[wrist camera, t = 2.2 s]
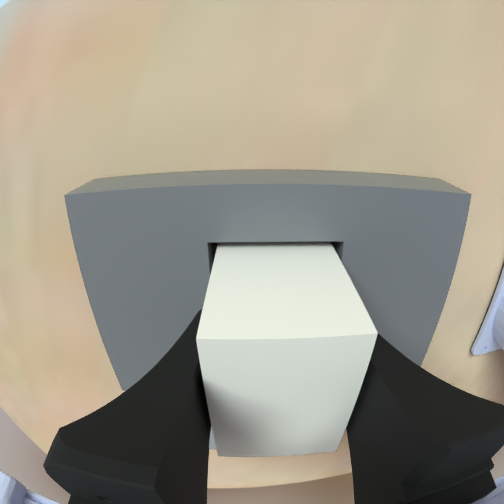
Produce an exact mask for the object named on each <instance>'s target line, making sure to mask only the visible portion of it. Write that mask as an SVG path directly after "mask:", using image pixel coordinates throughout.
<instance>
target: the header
mask: <svg viewBox="0 0 504 504" xmlns="http://www.w3.org/2000/svg"><path fill="white" fill-rule="evenodd" d="M64 196H65V202H66V207H67V213H68V218H69V223H70V228H71V233H72V237H73V242H74V246H75V250H76V254H77V259H78V262H79V266H80V270H81V274H82V278H83V281H84V285H85V288H86V292H87V295H88V298H89V302H90V305H91V308H92V311H93V314H94V317H95V320H96V323H97V326H98V329H99V332H100V335H101V338H102V340H103V343H104V346H105V348H106V351H107V354H108V356H109V359H110V361H111V364H112V366H113V369H114V371H115V374H116V376H117V379H118V381H119V383H120V386H121V388H122V390H125V391H126V390H128V389H129V388H130V387H131V386H133V385H134V384H135V383H136V382H138V381H139V380H140V379H141V378H142V377H143V376H144V375H146V374H147V373H148V372H149V371H150V370H151V369H152V368H153V367H154V366H155V365H156V364H157V363H158V362H159V361H160V360H161V358H162V357H163V356H164V355H165V354H166V353H167V352H168V351H169V350H170V348H171V347H172V346H173V345H174V344H175V342H176V341H177V340H178V339H179V337H180V336H181V335H182V334H183V332H184V331H185V330H186V328H187V327H188V325H189V324H190V323H191V321H192V320H193V318H194V317H195V315H196V314H197V312H198V311H199V310H201V309H203V305H204V301H205V296H206V292H207V288H208V283H209V279H210V275H211V271H212V267H213V262H214V258H215V254H216V250H217V242H312V241H330V242H331V244H332V246H333V248H334V249H335V251H336V253H337V255H338V257H339V259H340V260H341V262H342V264H343V266H344V268H345V270H346V272H347V273H348V275H349V277H350V279H351V281H352V283H353V285H354V287H355V289H356V291H357V292H358V294H359V296H360V298H361V300H362V302H363V304H364V306H365V308H366V310H367V312H368V314H369V316H370V318H371V320H372V322H373V324H374V326H375V328H376V330H377V332H378V333H379V334H380V335H381V336H382V337H383V338H384V339H385V340H386V341H388V342H389V343H390V344H391V345H392V346H393V347H395V348H396V349H397V350H398V351H400V352H401V353H402V354H403V355H404V356H406V357H407V358H408V359H410V360H411V361H412V362H414V363H415V364H417V365H418V366H421V364H422V361H423V359H424V357H425V354H426V352H427V349H428V347H429V345H430V342H431V339H432V337H433V334H434V332H435V329H436V326H437V324H438V321H439V318H440V315H441V312H442V310H443V307H444V304H445V301H446V297H447V294H448V291H449V288H450V285H451V281H452V278H453V274H454V271H455V267H456V264H457V260H458V256H459V252H460V248H461V244H462V239H463V235H464V231H465V226H466V221H467V216H468V211H469V205H470V199H471V194H470V193H468V192H466V191H464V190H462V189H460V188H458V187H455V186H453V185H451V184H449V183H447V182H445V181H443V180H441V179H436V178H426V177H416V176H405V175H394V174H380V173H365V172H346V171H321V170H218V171H193V172H174V173H158V174H145V175H132V176H121V177H111V178H101V179H94V180H92V181H90V182H88V183H86V184H84V185H82V186H80V187H79V188H77V189H75V190H73V191H71V192H69V193H67V194H66V195H64Z"/></svg>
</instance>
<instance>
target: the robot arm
mask: <svg viewBox="0 0 504 504" xmlns="http://www.w3.org/2000/svg"><path fill="white" fill-rule="evenodd" d="M201 314H202V309H201V310H199V311H198V312H197V314H196V315H195V317H194V318H193V320H192V321H191V323H190V324H189V325H188V327H187V328H186V330H185V331H184V332H183V334H182V335H181V336H180V337H179V339H178V340H177V341H176V342H175V344H174V345H173V346H172V347H171V348H170V350H169V351H168V352H167V353H166V354H165V355H164V356H163V357H162V358H161V360H160V361H159V362H158V363H157V364H156V365H155V366H154V367H153V368H152V369H151V370H150V371H149V372H148V373H147V374H146V375H144V376H143V377H142V378H141V379H140V380H139V381H138V382H136V383H135V384H134V385H133V386H131V387H130V388H129V389H128V390H126V391H125V392H124V393H122V394H121V395H120V396H118V397H117V398H116V399H114V400H113V401H111V402H109V403H108V404H106V405H105V406H103V407H101V408H100V409H98V410H96V411H94V412H93V413H91V414H89V415H87V416H85V417H83V418H81V419H79V420H77V421H75V422H72V423H70V424H68V425H66V426H64V427H61V428H60V429H59V430H58V432H57V434H56V436H55V438H54V440H53V442H52V445H51V447H50V450H49V452H48V455H47V457H46V460H45V463H44V465H43V466H44V468H45V470H46V472H47V474H48V475H49V476H50V477H51V478H52V479H53V480H54V481H55V482H57V483H58V484H59V485H60V486H61V487H62V488H63V489H65V490H66V491H67V492H68V493H69V494H71V496H70V500H69V503H68V504H207V477H208V457H209V441H210V432H211V420H210V415H209V410H208V405H207V400H206V395H205V389H204V384H203V378H202V372H201V367H200V361H199V355H198V348H197V342H196V336H197V332H198V327H199V323H200V318H201ZM499 349H503V351H504V267H503V270H502V273H501V276H500V279H499V282H498V285H497V288H496V291H495V294H494V296H493V299H492V302H491V304H490V307H489V309H488V312H487V314H486V317H485V319H484V322H483V324H482V326H481V329H480V331H479V333H478V336H477V338H476V340H475V342H474V344H473V346H472V349H471V352H472V354H473V355H474V356H476V355H480V354H484V353H488V352H492V351H496V350H499ZM346 430H347V435H348V442H349V448H350V456H351V464H352V473H353V485H354V499H355V504H504V475H502V476H500V477H499V478H497V479H495V480H493V478H492V475H491V472H490V470H491V469H492V468H493V467H494V464H493V462H492V460H491V458H492V457H493V456H494V455H495V454H496V452H498V451H499V449H500V448H501V447H502V446H503V445H504V406H503V405H502V404H498V403H495V402H492V401H489V400H486V399H483V398H480V397H477V396H474V395H472V394H470V393H467V392H465V391H463V390H460V389H458V388H456V387H454V386H452V385H450V384H448V383H446V382H444V381H443V380H441V379H439V378H437V377H435V376H434V375H432V374H430V373H429V372H427V371H426V370H424V369H423V368H421V367H420V366H418V365H417V364H415V363H414V362H412V361H411V360H410V359H408V358H407V357H406V356H404V355H403V354H402V353H401V352H400V351H398V350H397V349H396V348H395V347H393V346H392V345H391V344H390V343H389V342H388V341H386V340H385V339H384V338H383V337H382V336H381V335H380V334H379V333H378V334H377V338H376V341H375V345H374V348H373V352H372V355H371V358H370V361H369V365H368V368H367V371H366V374H365V377H364V380H363V383H362V386H361V389H360V392H359V395H358V397H357V400H356V403H355V406H354V408H353V411H352V414H351V416H350V419H349V422H348V424H347V427H346ZM0 504H60V503H58V502H55V501H53V500H50V499H48V498H46V497H43V496H41V495H39V494H37V493H34V492H32V491H30V490H28V489H26V487H25V486H24V485H23V484H21V483H20V482H19V481H18V480H16V479H15V478H13V477H12V476H10V475H8V474H6V473H5V472H2V471H1V470H0Z"/></svg>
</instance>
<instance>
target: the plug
mask: <svg viewBox="0 0 504 504" xmlns="http://www.w3.org/2000/svg"><path fill="white" fill-rule="evenodd" d="M377 334H378V332H377V330H376V328H375V326H374V324H373V322H372V320H371V318H370V316H369V314H368V312H367V310H366V308H365V306H364V304H363V302H362V300H361V298H360V296H359V294H358V292H357V291H356V289H355V287H354V285H353V283H352V281H351V279H350V277H349V275H348V273H347V272H346V270H345V268H344V266H343V264H342V262H341V260H340V259H339V257H338V255H337V253H336V251H335V249H334V248H333V246H332V244H331V242H330V241H312V242H218V246H217V250H216V254H215V258H214V262H213V267H212V271H211V275H210V279H209V283H208V288H207V292H206V296H205V301H204V305H203V309H202V314H201V318H200V323H199V327H198V332H197V336H196V342H197V348H198V355H199V361H200V367H201V372H202V378H203V384H204V389H205V395H206V400H207V405H208V410H209V415H210V420H211V425H212V430H213V435H214V440H215V444H216V449H217V453H218V456H228V457H271V456H292V455H306V454H317V453H327V452H335V451H337V448H338V446H339V444H340V441H341V439H342V437H343V434H344V432H345V429H346V427H347V424H348V422H349V419H350V416H351V414H352V411H353V408H354V406H355V403H356V400H357V397H358V395H359V392H360V389H361V386H362V383H363V380H364V377H365V374H366V371H367V368H368V365H369V361H370V358H371V355H372V352H373V348H374V345H375V341H376V338H377Z"/></svg>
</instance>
